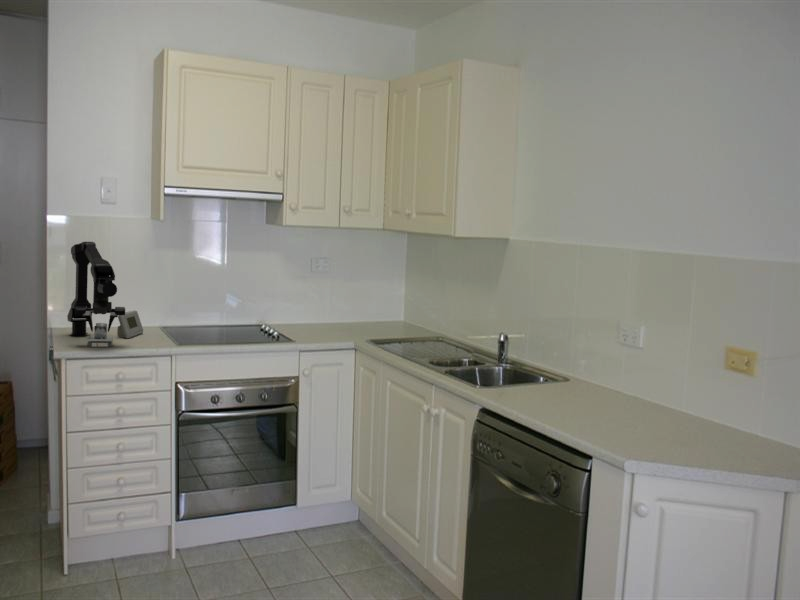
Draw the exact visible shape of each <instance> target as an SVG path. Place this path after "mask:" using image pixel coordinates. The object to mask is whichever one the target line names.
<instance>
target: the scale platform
mask: <svg viewBox="0 0 800 600" xmlns="http://www.w3.org/2000/svg"><path fill="white" fill-rule="evenodd" d="M113 337H114V336H113V334H107V336H106V339H95V338H94V334H89V336H88V338H87V342H88V341H112V338H113Z"/></svg>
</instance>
